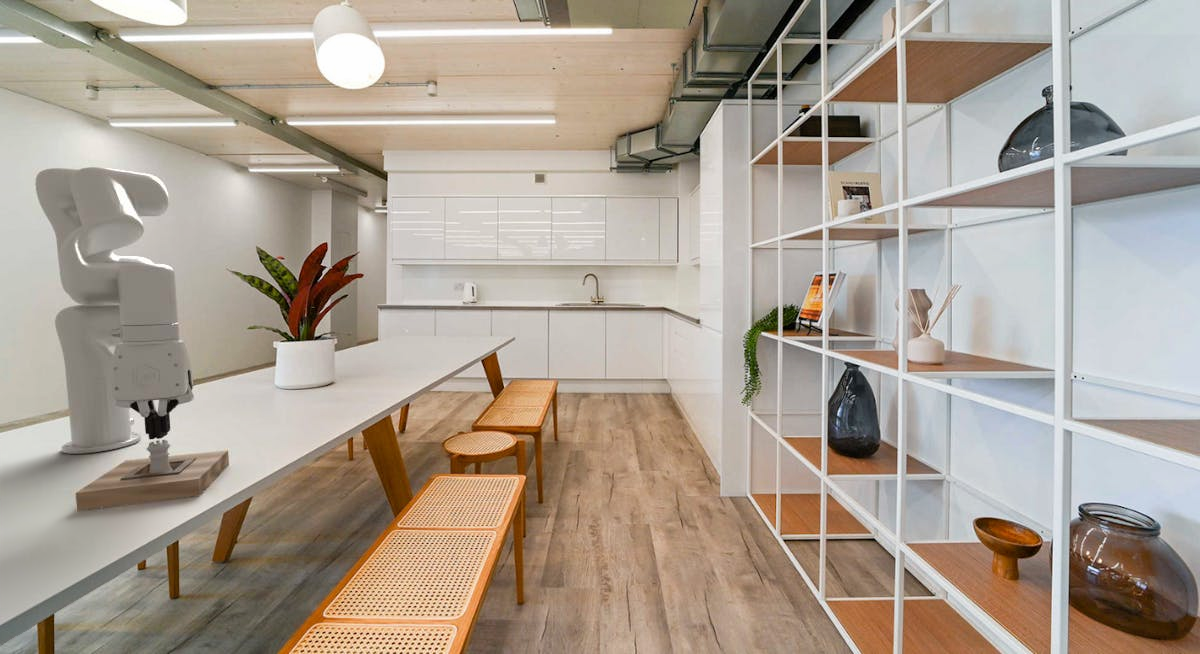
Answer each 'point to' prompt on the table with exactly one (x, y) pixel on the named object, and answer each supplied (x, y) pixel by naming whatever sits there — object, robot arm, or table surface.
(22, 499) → the table surface
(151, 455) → the rook chess piece
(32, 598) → the table surface
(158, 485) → the walnut board
